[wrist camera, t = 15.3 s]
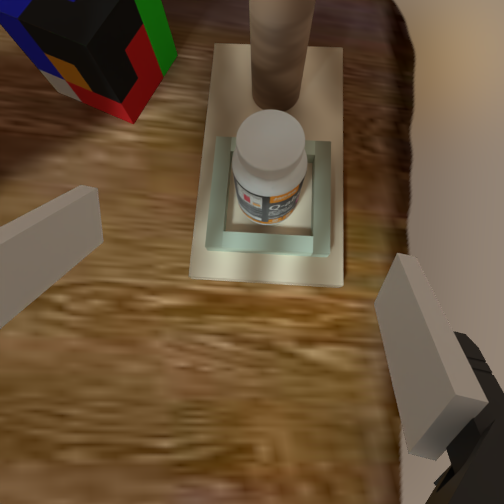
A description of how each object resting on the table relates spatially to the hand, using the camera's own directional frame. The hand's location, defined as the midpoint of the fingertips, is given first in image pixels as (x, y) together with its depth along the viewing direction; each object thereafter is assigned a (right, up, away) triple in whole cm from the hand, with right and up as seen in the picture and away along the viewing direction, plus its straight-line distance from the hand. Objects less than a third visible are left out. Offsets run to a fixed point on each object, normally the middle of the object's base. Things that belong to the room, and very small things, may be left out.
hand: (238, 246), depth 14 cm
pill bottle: (+2, +5, +17) cm, 18 cm away
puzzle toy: (-15, +20, +23) cm, 34 cm away
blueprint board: (+3, +9, +20) cm, 22 cm away
